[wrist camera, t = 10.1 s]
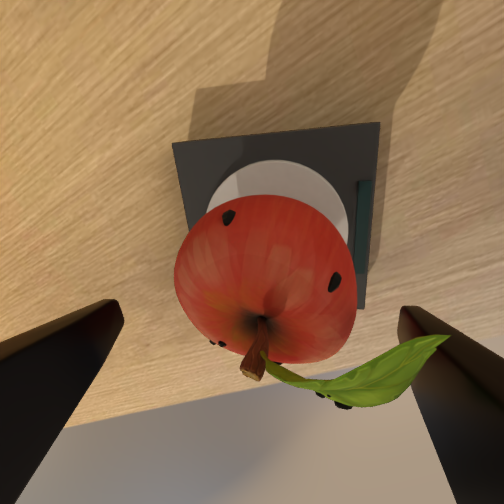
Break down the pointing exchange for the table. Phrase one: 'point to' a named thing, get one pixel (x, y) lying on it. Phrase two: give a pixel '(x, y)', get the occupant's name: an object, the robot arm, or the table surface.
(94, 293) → the table surface
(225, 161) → the scale
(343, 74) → the table surface
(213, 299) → the spotted red fruit
